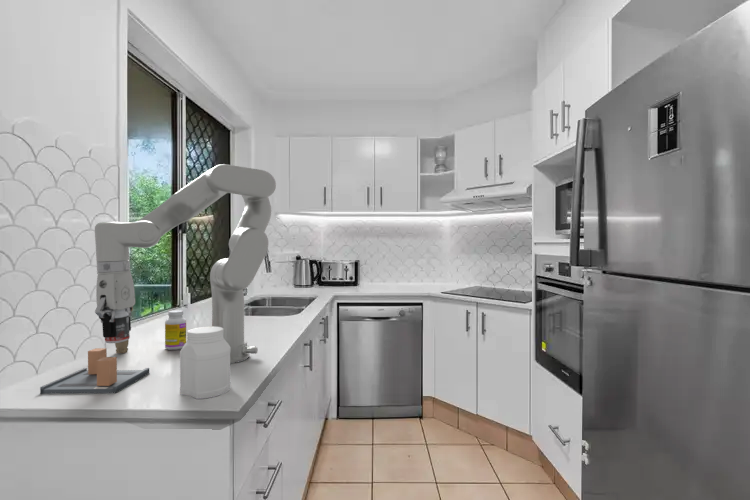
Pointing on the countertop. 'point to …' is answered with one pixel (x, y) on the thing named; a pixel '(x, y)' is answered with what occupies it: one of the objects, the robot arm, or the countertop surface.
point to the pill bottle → (120, 327)
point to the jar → (205, 363)
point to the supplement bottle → (175, 330)
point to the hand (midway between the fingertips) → (117, 333)
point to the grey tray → (92, 382)
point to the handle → (122, 345)
